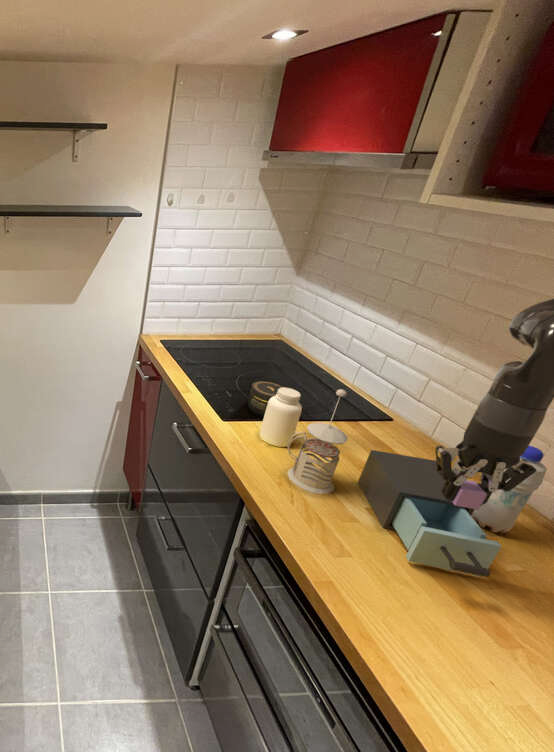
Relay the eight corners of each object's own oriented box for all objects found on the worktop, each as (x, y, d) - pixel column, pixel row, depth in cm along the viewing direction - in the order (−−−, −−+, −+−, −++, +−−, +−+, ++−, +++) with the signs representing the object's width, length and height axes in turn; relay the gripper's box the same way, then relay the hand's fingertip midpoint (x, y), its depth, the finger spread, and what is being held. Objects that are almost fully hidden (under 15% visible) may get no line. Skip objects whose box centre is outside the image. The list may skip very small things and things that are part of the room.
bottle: (462, 509, 100) (503, 434, 92) (501, 519, 97) (547, 443, 89) (473, 529, 94) (519, 452, 86) (516, 541, 92) (566, 462, 83)
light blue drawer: (499, 601, 78) (521, 569, 75) (421, 582, 81) (438, 551, 78) (443, 524, 94) (459, 495, 91) (379, 511, 97) (392, 483, 94)
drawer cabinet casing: (455, 543, 91) (476, 506, 87) (382, 527, 94) (399, 491, 90) (420, 494, 104) (437, 460, 100) (357, 482, 107) (371, 449, 103)
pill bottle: (294, 439, 123) (310, 392, 117) (285, 451, 118) (301, 403, 112) (264, 427, 128) (277, 381, 122) (254, 439, 123) (267, 391, 117)
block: (466, 496, 84) (475, 481, 82) (478, 510, 80) (487, 494, 79) (443, 492, 84) (451, 477, 83) (454, 505, 81) (463, 490, 80)
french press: (338, 499, 102) (375, 405, 92) (281, 485, 106) (311, 393, 96) (329, 473, 110) (363, 384, 100) (277, 461, 114) (304, 374, 104)
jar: (259, 399, 143) (264, 378, 140) (289, 413, 136) (296, 391, 132) (239, 406, 139) (245, 385, 136) (269, 422, 131) (276, 399, 128)
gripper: (466, 426, 74) (425, 505, 81) (575, 442, 70) (522, 524, 77) (442, 404, 80) (406, 479, 87) (541, 418, 77) (495, 495, 84)
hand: (461, 500), depth 82 cm, fingers closed on block, 3 cm apart
